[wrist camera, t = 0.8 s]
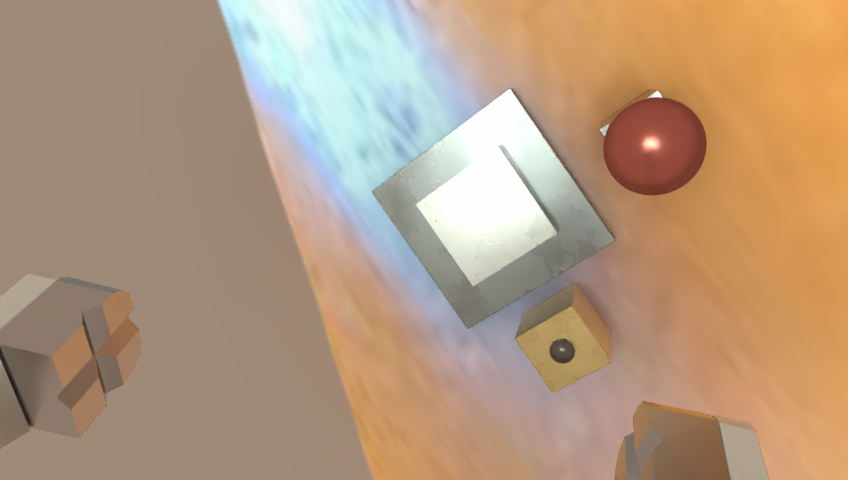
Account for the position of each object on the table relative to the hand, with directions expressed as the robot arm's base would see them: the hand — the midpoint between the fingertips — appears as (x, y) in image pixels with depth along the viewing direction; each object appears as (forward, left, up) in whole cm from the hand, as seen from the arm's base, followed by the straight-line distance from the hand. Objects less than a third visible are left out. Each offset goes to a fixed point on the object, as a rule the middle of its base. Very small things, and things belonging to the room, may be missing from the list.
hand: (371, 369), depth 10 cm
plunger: (-2, -5, -37) cm, 37 cm away
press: (-1, +4, -42) cm, 42 cm away
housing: (-12, +8, -42) cm, 45 cm away
